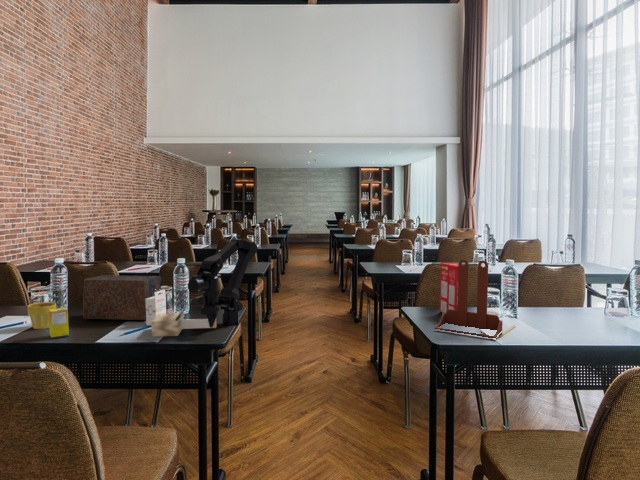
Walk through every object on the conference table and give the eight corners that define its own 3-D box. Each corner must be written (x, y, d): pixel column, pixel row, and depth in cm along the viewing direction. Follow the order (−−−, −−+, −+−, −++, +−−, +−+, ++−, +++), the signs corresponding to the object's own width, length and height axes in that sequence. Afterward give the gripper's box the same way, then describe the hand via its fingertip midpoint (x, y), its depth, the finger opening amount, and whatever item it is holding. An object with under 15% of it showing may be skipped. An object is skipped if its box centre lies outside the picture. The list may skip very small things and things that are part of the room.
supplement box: (66, 333, 174) (65, 306, 173) (68, 336, 169) (68, 309, 168) (48, 336, 170) (48, 308, 169) (51, 339, 165) (50, 311, 165)
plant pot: (58, 327, 182) (57, 305, 182) (28, 331, 176) (28, 308, 176) (55, 323, 191) (54, 301, 190) (27, 326, 184) (26, 303, 184)
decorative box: (100, 315, 211) (78, 320, 191) (102, 274, 212) (80, 275, 192) (163, 316, 211) (147, 322, 191) (165, 275, 212) (149, 276, 192)
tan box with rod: (183, 326, 185) (183, 310, 185) (178, 335, 172) (177, 318, 171) (159, 327, 184) (159, 311, 184) (151, 336, 170) (151, 319, 170)
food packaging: (465, 319, 203) (466, 266, 201) (455, 319, 202) (456, 266, 200) (449, 312, 217) (450, 262, 216) (439, 312, 216) (440, 263, 215)
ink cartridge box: (156, 320, 196) (156, 288, 195) (166, 321, 195) (166, 289, 194) (145, 325, 188) (144, 291, 187) (155, 326, 187) (155, 292, 186)
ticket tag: (216, 326, 181) (216, 318, 181) (216, 327, 180) (216, 319, 180) (176, 328, 179) (176, 319, 179) (176, 329, 178) (176, 320, 177)
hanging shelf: (434, 331, 181) (435, 260, 179) (444, 325, 192) (445, 258, 190) (495, 341, 168) (497, 264, 166) (502, 333, 178) (504, 261, 177)
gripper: (194, 286, 187) (194, 321, 188) (187, 293, 169) (187, 333, 170) (220, 285, 189) (220, 321, 190) (216, 293, 171) (216, 332, 172)
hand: (211, 326), depth 180 cm, fingers closed on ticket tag
